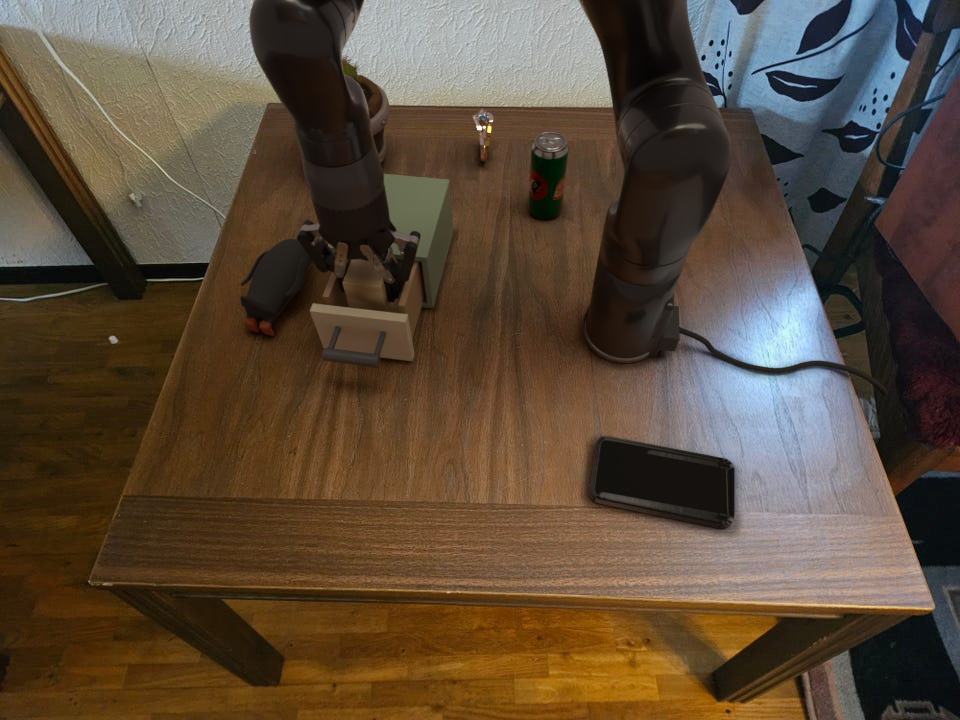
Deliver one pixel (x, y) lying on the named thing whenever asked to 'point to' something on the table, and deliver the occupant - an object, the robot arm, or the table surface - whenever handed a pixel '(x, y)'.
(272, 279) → the figurine
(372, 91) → the flowerpot
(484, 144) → the ring
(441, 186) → the cabinet
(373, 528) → the table surface
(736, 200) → the table surface
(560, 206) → the soda can
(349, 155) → the robot arm
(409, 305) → the drawer
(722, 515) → the phone
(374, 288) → the block
